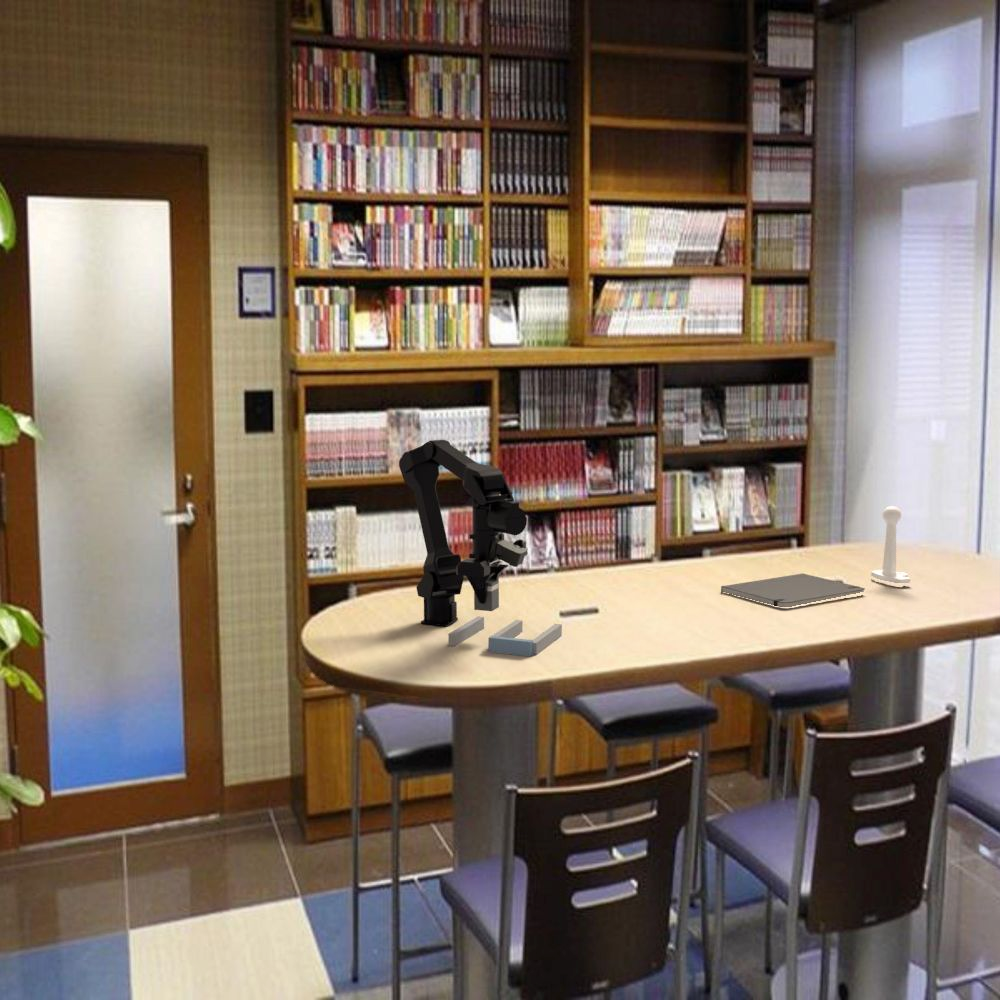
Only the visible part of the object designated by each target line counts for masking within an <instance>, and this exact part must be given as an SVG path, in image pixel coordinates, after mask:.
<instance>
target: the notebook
mask: <svg viewBox="0 0 1000 1000" xmlns="http://www.w3.org/2000/svg"><path fill="white" fill-rule="evenodd" d="M865 590H866V588H865V587H863V586H862V587H861V586H858V585H853V584H848V583H844V582H841V581H840V582H839V581H837V580H836V581H835V580H831V579H828V578H823V577H819V576H815V575H810V574H806V573H798V574H797V573H796V574H792V575H784V576H777V577H772V578H765V579H759V580H753V581H747V582H741V583H740V582H739V583H733V584H727V585H722V586H720V593H721V592H726V593H729V594H733V595H736V596H740V597H744V598H748V599H752V600H755V601H759V602H763V603H767V604H771V605H774V606H779V607H792V606H796V605H801V604H807V603H811V602H816V601H821V600H826V599H831V598H836V597H841V596H846V595H850V594H856V593H860V592H864V591H865ZM729 594H728V595H729ZM736 596H735V597H736ZM740 597H739V598H740Z"/></svg>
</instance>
